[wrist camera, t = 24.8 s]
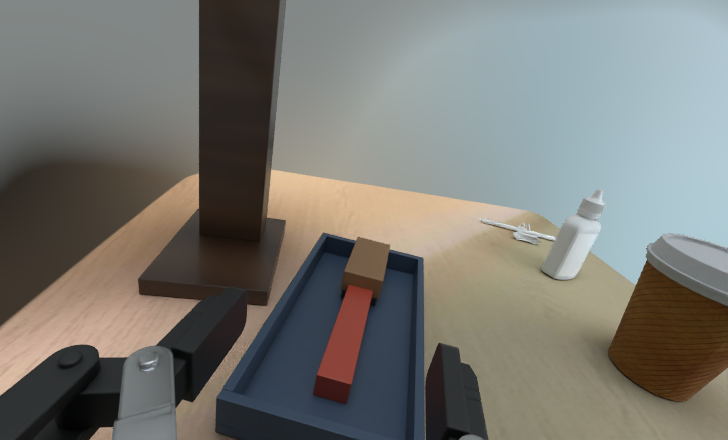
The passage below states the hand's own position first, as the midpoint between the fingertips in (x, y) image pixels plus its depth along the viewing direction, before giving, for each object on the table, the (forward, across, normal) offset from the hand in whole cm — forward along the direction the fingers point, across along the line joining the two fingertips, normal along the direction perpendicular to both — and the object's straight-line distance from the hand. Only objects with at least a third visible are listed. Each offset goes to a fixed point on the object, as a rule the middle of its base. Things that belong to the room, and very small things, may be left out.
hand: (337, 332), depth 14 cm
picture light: (+43, -23, +10) cm, 50 cm away
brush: (+13, 0, +9) cm, 16 cm away
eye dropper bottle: (+33, -25, +10) cm, 42 cm away
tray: (+11, 0, +10) cm, 15 cm away
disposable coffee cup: (+16, -27, +10) cm, 33 cm away
